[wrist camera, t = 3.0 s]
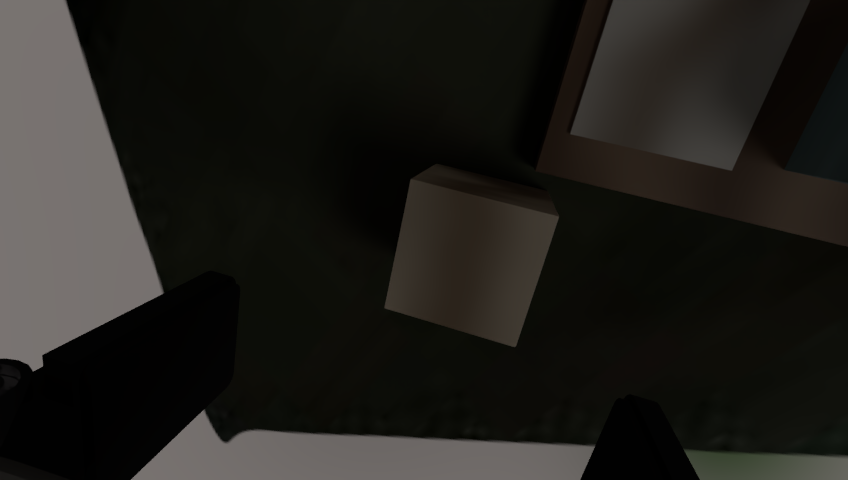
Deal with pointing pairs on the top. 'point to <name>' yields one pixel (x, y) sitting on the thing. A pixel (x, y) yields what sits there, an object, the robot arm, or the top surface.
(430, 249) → the maple block
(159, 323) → the robot arm
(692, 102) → the base
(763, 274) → the top surface
